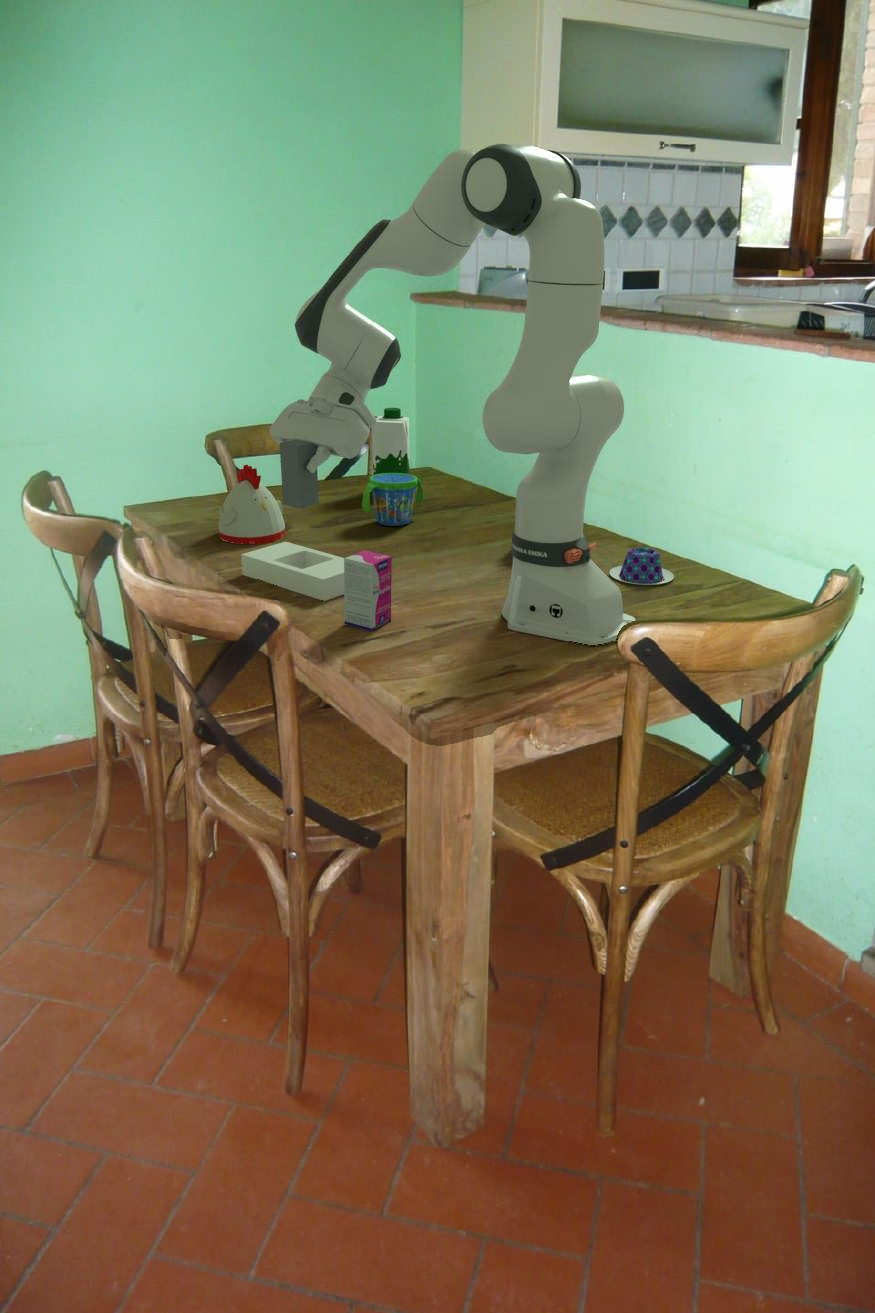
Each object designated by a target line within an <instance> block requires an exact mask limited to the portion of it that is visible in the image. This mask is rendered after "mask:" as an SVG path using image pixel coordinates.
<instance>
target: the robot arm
mask: <svg viewBox="0 0 875 1313" xmlns="http://www.w3.org/2000/svg"><path fill="white" fill-rule="evenodd" d="M581 194H582V181H581V176H580V173H579V171H578V169H577V167H576V165H575V164H574V163H573V162H572V160H570V159H569V157H566V156H565V155H564V154H562V153H560V152H558V151H555V150H550V149H543V148H540V147H536V146H535V145H530V144H519V143H517V144H515V143H514V144H507V143H496V144H492V145H489V146H485V148H484V147H483V148H482V149H480V150H479V151H477V152H476V151H472V150H469V149H456V150H454V151H452V152H451V153H449V154H448V155H446V157H445V158H444V159H443V160H442V161H441V162H440V164H438V166H437V167H436V168H435V169H434V171H433V172H432V173H431V175H430V176H429V178H428V179H427V180H426V181H425V182H424V185H423V186H422V188H420V190H419V192H418V193H417V195H416V197H415V199H414V200H413V201H412V203H411V205H410V206H409V208H408V209H407V210H406V211H405V212H404V213H403V214H402V215H400V216H398V217H397V218H394V219H385V218H384V219H382V220H379V222H378V221H377V223H375V225H373V226H372V227H371V228H370V229H369V230H368V231H367V233H366V234H364V236H363V237H362V239H360V241H359V242H358V243H357V244H355V246H354V248H352V250H351V251H350V252H349V253H348V254H347V256H346V257H345V258H344V260H343V261H342V262H341V263H340V264H339V265H338V267H337V268H336V269H335V271H334V272H333V273H332V274H331V275H330V276H329V278H328V280H326V282H325V283H324V285H323V286H322V287H321V288H319V290H317V291H316V292H315V293H314V294H312V295H311V296H310V297H308V299H307V300H306V301H305V302H304V303H303V305H302V306H301V307H300V309H299V310H298V313H297V315H296V318H295V322H294V329H295V332H296V335H297V336H296V337H297V338H298V340H299V343H300V346H303V347H304V348H306V349H308V350H310V351H312V352H314V353H315V354H317V355H320V356H322V357H323V358H325V359H326V360H328V361H329V362H331V363H330V367H329V368H328V370H327V371H326V372H324V373H323V374H322V376H320V379H319V380H318V382H317V384H316V385H315V387H314V389H313V391H312V392H311V393H310V396H309V397H308V399H307V400H305V399H297V400H296V401H294V402H291V403H290V404H288V405H287V406H285V408H284V409H282V411H281V412H280V414H278V416H277V417H276V418H275V420H274V421H273V423H272V425H271V426H270V428H269V435H270V437H271V438H272V439H273V441H275V443H276V444H278V445H279V446H280V443H281V442H286V441H291V440H301V441H306V442H312V443H314V444H315V445H316V451H317V453H316V454H315V455H314V456H313V457H312V458H311V459H307V460H306V462H305V464H304V465H303V468H304V469H305V470H306V471H307V472H310V473H314V472H315V471H316V469H317V470H318V467H319V466H321V465H322V464H323V463H325V462H326V461H328V460H329V458H330V457H331V456H335V457H340V458H345V459H349V460H351V459H353V458H355V457H357V456H358V455H359V454H360V453H361V451H362V449H363V448H364V446H365V444H366V442H367V440H368V438H369V436H370V432H371V431H370V430H372V428H373V427H374V425H375V424H376V421H377V420H376V418H377V417H375V416H374V413H372V411H371V410H370V409H369V407H368V406H367V405H366V404H365V401H366V398H367V395H368V393H369V392H371V390H375V389H378V388H381V387H384V386H385V385H386V384H387V382H388V380H389V376H390V374H391V372H393V369H394V368H396V367H397V365H398V363H399V362H400V360H401V358H402V352H401V347H400V343H399V340H398V338H397V337H396V336H395V335H394V334H393V333H392V332H391V331H389V330H388V329H386V328H385V327H384V326H382V325H380V324H379V323H377V322H375V321H373V320H372V319H371V318H369V317H368V316H366V315H365V314H363V313H362V312H361V311H358V310H357V309H356V308H354V307H353V306H351V305H350V304H349V303H348V302H347V300H346V297H347V295H349V293H350V292H351V291H352V290H353V288H355V286H356V285H357V284H358V283H359V282H360V281H361V279H362V278H363V277H364V276H365V274H367V273H368V272H369V271H371V270H374V269H387V270H388V269H389V270H395V271H398V272H403V273H407V274H410V275H413V276H418V277H419V276H420V277H437V276H442V275H445V274H447V273H450V272H451V271H453V270H454V269H455V268H456V267H457V266H458V265H459V263H460V262H461V261H462V260H463V258H464V257H465V256H466V255H467V253H468V252H469V250H470V249H471V247H472V246H473V244H474V243H475V240H476V239H477V237H478V236H479V234H480V232H481V231H482V229H483V228H484V226H485V225H487V226H489V227H492V228H493V229H494V228H495V229H496V230H499V231H502V232H503V233H506V234H507V235H510V236H512V237H516V236H519V235H520V234H522V236H523V237H524V238H525V240H526V241H527V244H528V249H529V266H528V278H527V279H528V281H527V294H526V302H525V303H526V305H525V312H524V314H525V315H524V325H523V332H522V336H521V340H520V343H519V347H518V348H517V352H516V355H515V358H514V360H513V362H512V365H511V366H510V369H509V370H508V372H507V374H506V376H505V377H504V379H503V380H502V381H501V383H500V384H499V385H498V386H497V388H495V389H494V390H493V391H492V392H491V393H490V394H489V395H488V397H487V399H486V400H485V403H484V406H483V410H482V426H483V430H484V433H485V436H486V438H487V440H488V441H489V443H490V445H492V446H493V448H495V449H496V450H498V451H500V452H503V453H510V454H519V455H532V454H538V456H537V458H536V460H535V462H534V464H533V466H532V467H531V469H530V470H529V471H528V472H527V473H526V474H525V475H524V476H523V478H522V479H520V481H519V482H518V485H517V488H516V491H515V492H516V494H515V515H514V516H515V517H514V518H515V519H514V522H515V523H514V531H512V535H511V548H510V549H511V551H510V552H511V553H510V554H511V558H512V566H511V574H510V579H509V586H508V590H507V594H506V595H507V596H506V598H505V599H506V600H505V601H504V605H503V608H502V610H501V615H502V617H503V618H504V619H505V620H506V622H507V628H508V629H509V630H512V631H515V632H521V633H525V634H530V635H535V636H540V637H545V638H550V639H555V640H560V641H565V642H569V641H573V642H572V643H574V642H578V643H577V644H579V643H583V644H582V645H584V644H588V645H587V646H590V645H594V644H601V643H606V642H609V641H613V642H616V641H617V640H616V638H617V635H618V633H619V631H620V630H621V628H622V627H623V626H624V625H626V624H628V623H631V622H632V621H636V618H635V617H634V616H632V615H630V614H627V613H626V612H625V613H624V605H623V598H622V597H623V596H622V592H621V590H620V588H619V586H618V585H617V584H616V583H614V581H613V580H611V579H610V577H608V576H607V575H606V573H604V571H602V569H601V568H600V567H599V566H598V565H597V564H596V563H595V562H594V561H593V560H592V559H591V558H592V556H591V552H592V551H594V550H596V549H597V547H595V546H596V545H597V542H593V543H592V542H591V543H589V544H588V542H587V539H586V536H585V534H584V533H583V531H584V521H585V508H586V498H587V492H588V487H589V483H590V479H591V477H592V476H591V475H592V473H593V470H594V469H595V465H596V463H597V460H598V458H599V456H600V454H601V452H602V450H603V447H604V446H605V444H606V443H607V442H608V441H609V439H610V438H611V437H612V435H614V434H615V432H616V431H617V430H618V429H619V428H620V426H621V424H622V422H623V418H624V414H625V405H624V404H625V402H624V398H623V394H622V392H621V389H620V388H619V386H618V385H617V384H616V383H615V382H614V381H612V380H611V379H609V378H607V377H602V376H597V375H592V374H586V373H585V374H584V373H582V374H580V373H579V374H574V371H575V369H576V367H577V365H578V363H579V361H580V359H581V358H582V356H583V354H585V353H586V351H588V349H590V348H591V347H592V346H593V344H594V343H595V342H596V339H597V338H598V335H599V330H600V329H599V328H600V321H601V320H600V319H601V310H602V300H603V287H604V278H605V277H604V276H605V274H604V272H605V233H604V222H603V217H602V214H601V212H600V210H599V209H598V208H597V207H596V206H595V205H593V204H592V203H590V202H588V201H586V200H584V199H580V198H581ZM573 374H574V375H573ZM280 464H281V460H280Z"/></svg>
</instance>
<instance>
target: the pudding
mask: <svg viewBox="0 0 875 1313" xmlns="http://www.w3.org/2000/svg"><path fill="white" fill-rule="evenodd" d="M609 576H611V577H612V578H613V579H615V580H618V581H619V582H623V583H627V584H633V585H638V586H640V585H641V586H643V585H644V586H651V585H652V586H654V585H661V584H666V583H669V582H671V581H673V580H674V578H675V575H674V574H673V572H671V571H670V570H668V569H665V568H663V567H662V561H661V556H660V553H659V551H657V550H654V549H653V548H649V547H648V548H647V547H632V548H630V549H629V550H628V551H627V552H626V554H625V557H624V559H623V563H622V565H618V566H615V567H613V568H611V569H610V570H609ZM622 579H624V580H625V581H624V580H622ZM662 579H665V580H664V581H663V580H662ZM626 580H628V582H627V581H626ZM657 581H660V582H657ZM661 581H662V582H661ZM650 583H651V584H650Z"/></svg>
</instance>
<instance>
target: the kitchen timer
mask: <svg viewBox="0 0 875 1313" xmlns="http://www.w3.org/2000/svg"><path fill="white" fill-rule="evenodd" d="M257 470H258V469H257V468H255V467H254V468H253V467H252V465H248V464H243V467H242V468H240V469H239V472H237V473H236V477H237V480H238V483H237V484H235V486H234V487H233V488H232V489H231V491H230V492H229V493H228V494H227V496H226V497H225V500H224V501H223V504H222V506H219V508H218V509H219V510H218V513H219V520H218V537H219V536H220V538H222V539H224V540H227V541H229V542H234V543H243V544H257V545H260V544H259V543H265V544H268V543H267V542H270V543H272V542H271V541H275V540H277V539H280V538H282V537H283V538H285V536H286V535H287V534H286V524H285V520H284V516H283V512H284V510H283V504H282V502H281V500H279V499H278V500H276V498H275V497H274V495H273V494H272V492H271V491H270V490H269V489H268V487H266V486H264V484H262V483H260V482H261V478H262V475H258V471H257ZM220 538H219V539H220ZM283 538H282V539H283ZM280 540H281V539H280ZM277 541H278V540H277ZM275 542H276V541H275Z"/></svg>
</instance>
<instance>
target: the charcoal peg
mask: <svg viewBox="0 0 875 1313" xmlns="http://www.w3.org/2000/svg"><path fill="white" fill-rule="evenodd" d="M316 453H318V452H317V451H316V445H315V444H314V443H312V442H306V441H301V440H291V441H286V442H281V443H280V445H279V454H280V459H279V460H280V461H281V463H280V471H281V474H280V475H281V476H280V477H281V492H282V505H285V506H289V507H292V508H297V509H304V508H307V507H312V506H315V505H319V502H320V501H319V477H318V468H317V469H316V471H315V472H314V473H310V472H307V471H306V470H305V469H304V468H303V465H304V464H305V462H306V460H307V459H311V458H312V457H313V456H314V455H315V454H316Z"/></svg>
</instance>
